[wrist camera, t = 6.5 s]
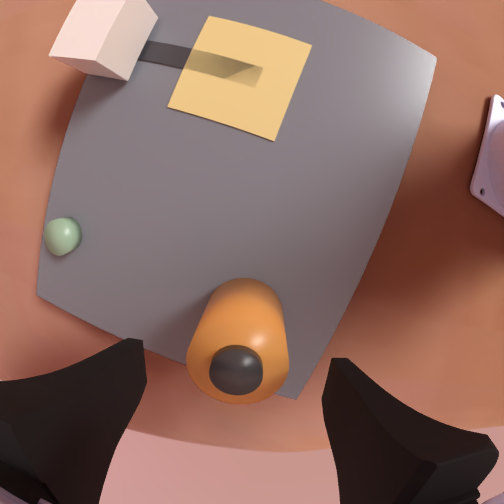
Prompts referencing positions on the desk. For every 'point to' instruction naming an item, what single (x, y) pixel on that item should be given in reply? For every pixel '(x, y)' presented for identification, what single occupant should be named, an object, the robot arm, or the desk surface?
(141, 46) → the lever
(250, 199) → the panel
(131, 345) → the robot arm
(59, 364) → the desk surface
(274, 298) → the cap
